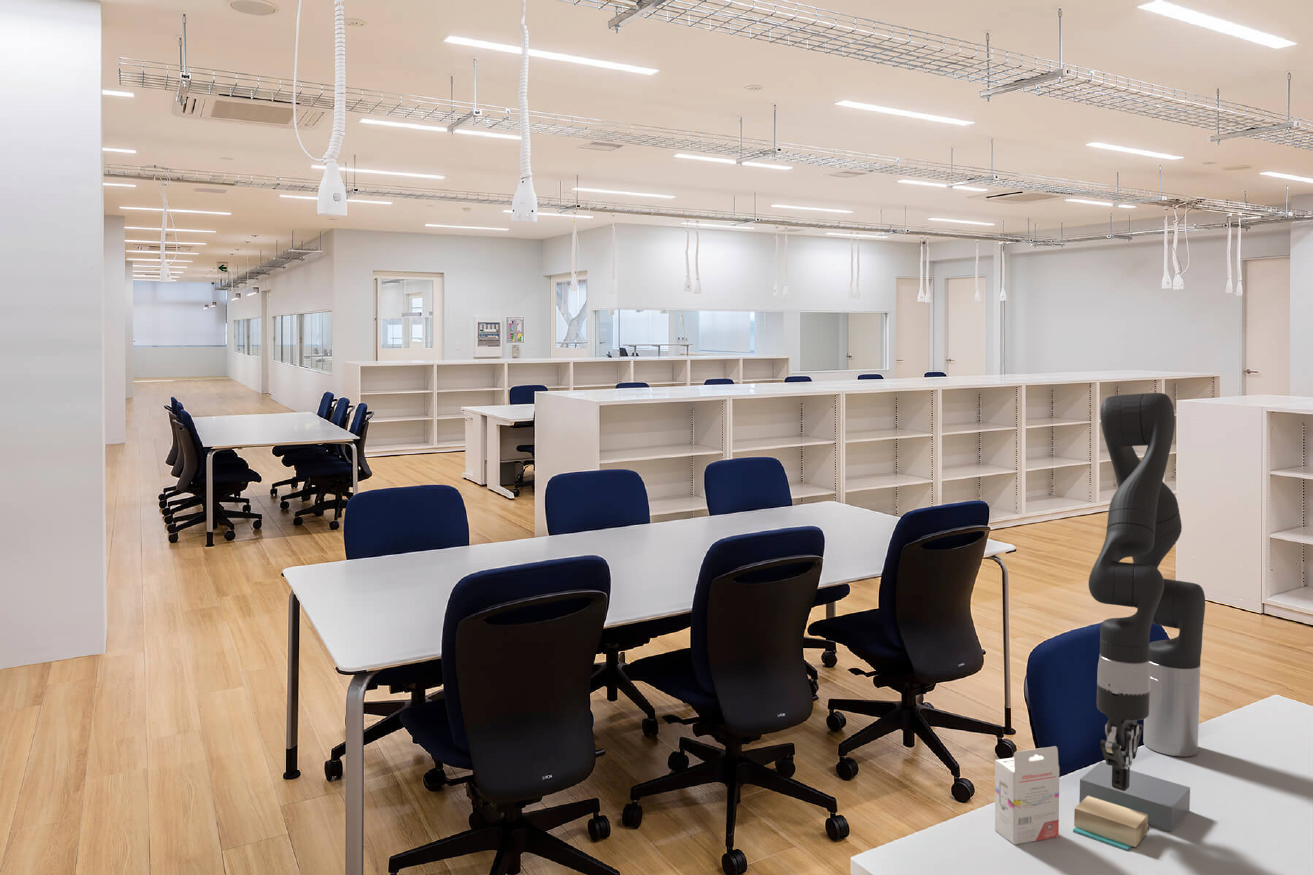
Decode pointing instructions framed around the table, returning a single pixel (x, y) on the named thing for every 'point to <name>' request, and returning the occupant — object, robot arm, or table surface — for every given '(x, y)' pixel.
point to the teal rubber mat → (1102, 838)
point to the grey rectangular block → (1140, 795)
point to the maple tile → (1111, 820)
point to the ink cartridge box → (1027, 795)
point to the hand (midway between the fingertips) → (1120, 787)
